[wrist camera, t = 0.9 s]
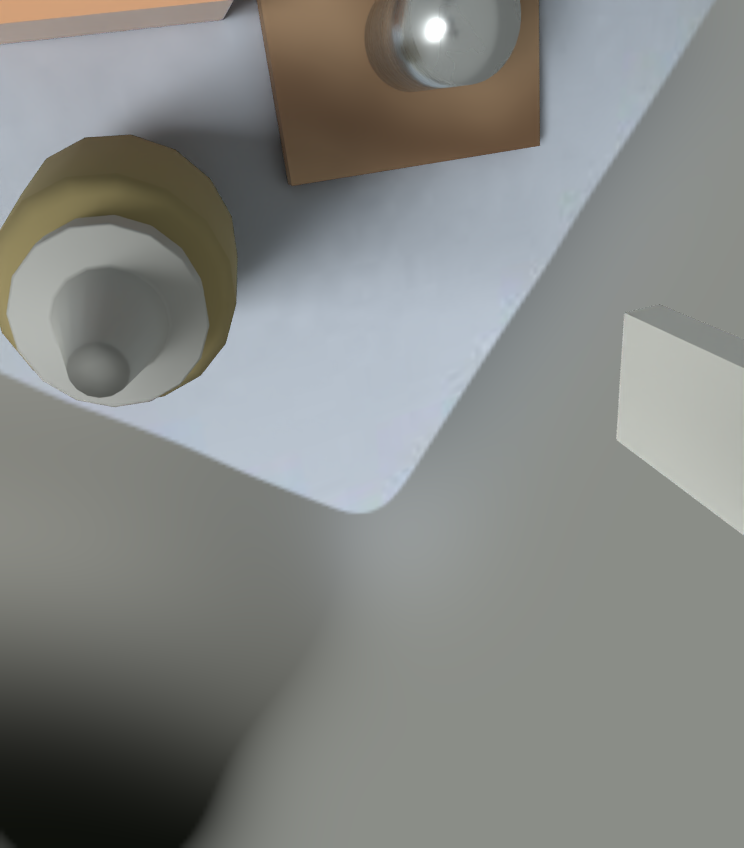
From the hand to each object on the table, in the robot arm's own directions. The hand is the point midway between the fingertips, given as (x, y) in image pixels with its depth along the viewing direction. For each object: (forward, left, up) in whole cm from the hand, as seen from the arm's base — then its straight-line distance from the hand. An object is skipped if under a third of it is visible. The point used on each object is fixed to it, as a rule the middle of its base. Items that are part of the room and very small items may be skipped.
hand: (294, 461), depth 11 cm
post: (-7, +10, -21) cm, 24 cm away
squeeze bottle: (-1, -3, -21) cm, 21 cm away
